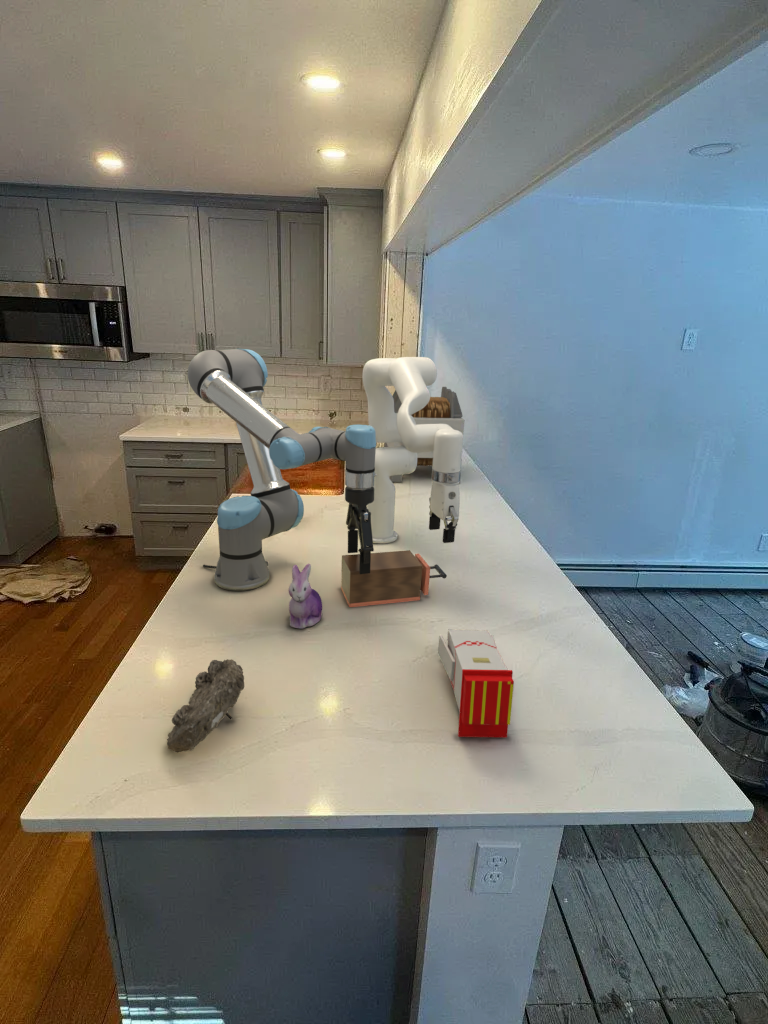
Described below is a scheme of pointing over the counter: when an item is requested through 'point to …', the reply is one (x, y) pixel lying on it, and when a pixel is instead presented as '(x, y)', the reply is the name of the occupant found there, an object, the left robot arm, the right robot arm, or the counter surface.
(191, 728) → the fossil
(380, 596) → the cabinet
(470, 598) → the counter surface
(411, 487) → the counter surface
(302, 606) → the figurine
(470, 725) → the toy
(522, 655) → the counter surface
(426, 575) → the drawer
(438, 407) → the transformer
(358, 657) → the counter surface
